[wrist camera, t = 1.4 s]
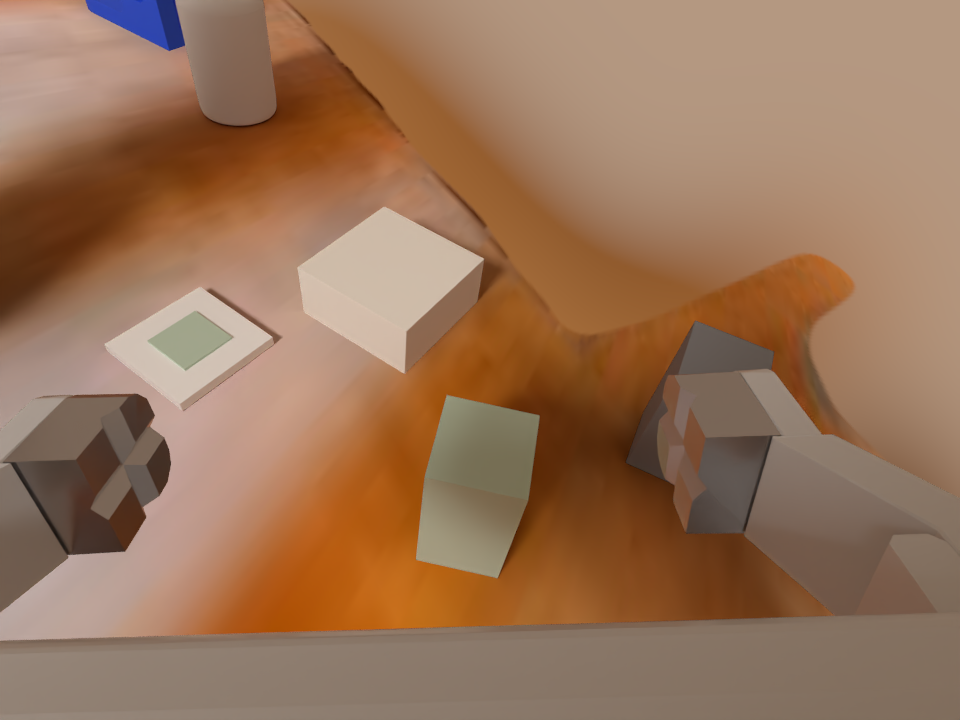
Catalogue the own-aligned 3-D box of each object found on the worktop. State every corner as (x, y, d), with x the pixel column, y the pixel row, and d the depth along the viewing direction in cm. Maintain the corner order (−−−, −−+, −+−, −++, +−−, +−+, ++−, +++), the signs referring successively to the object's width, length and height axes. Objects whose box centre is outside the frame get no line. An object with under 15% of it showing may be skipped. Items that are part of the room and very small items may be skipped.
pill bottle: (293, 107, 67) (275, -48, 56) (243, 136, 62) (211, -27, 51) (237, 84, 69) (208, -71, 58) (184, 111, 64) (141, -52, 53)
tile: (108, 351, 43) (103, 342, 42) (202, 294, 47) (199, 284, 47) (182, 411, 40) (178, 402, 40) (274, 344, 45) (272, 335, 44)
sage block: (416, 559, 36) (424, 477, 28) (434, 486, 39) (446, 395, 32) (497, 578, 36) (528, 500, 28) (509, 503, 39) (539, 415, 32)
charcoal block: (625, 462, 42) (678, 374, 35) (643, 412, 45) (695, 320, 38) (694, 493, 41) (764, 409, 34) (707, 439, 44) (774, 351, 37)
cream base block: (304, 314, 48) (297, 267, 44) (384, 253, 54) (384, 206, 50) (404, 376, 45) (406, 331, 41) (476, 304, 51) (484, 258, 47)
